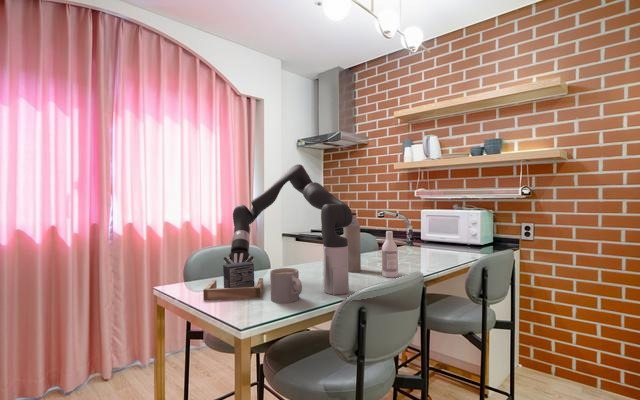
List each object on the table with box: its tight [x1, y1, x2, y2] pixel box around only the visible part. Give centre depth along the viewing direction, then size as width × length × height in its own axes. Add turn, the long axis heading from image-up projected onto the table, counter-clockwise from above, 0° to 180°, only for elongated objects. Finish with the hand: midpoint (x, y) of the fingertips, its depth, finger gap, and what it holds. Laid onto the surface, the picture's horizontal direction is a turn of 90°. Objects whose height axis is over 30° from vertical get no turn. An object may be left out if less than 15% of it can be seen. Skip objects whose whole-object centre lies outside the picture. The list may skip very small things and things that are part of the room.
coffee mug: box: [269, 267, 303, 304], centre depth 123 cm, size 13×10×10 cm
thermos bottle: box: [343, 212, 362, 273], centre depth 170 cm, size 8×8×28 cm
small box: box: [222, 261, 255, 288], centre depth 137 cm, size 11×6×10 cm, turn 125°
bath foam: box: [381, 230, 399, 278], centre depth 157 cm, size 7×7×20 cm
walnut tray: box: [202, 277, 264, 301], centre depth 134 cm, size 16×20×4 cm
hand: (237, 277), depth 141 cm, fingers closed
